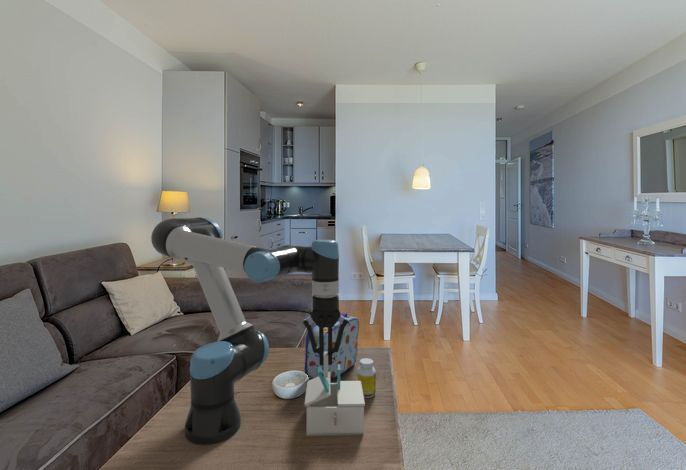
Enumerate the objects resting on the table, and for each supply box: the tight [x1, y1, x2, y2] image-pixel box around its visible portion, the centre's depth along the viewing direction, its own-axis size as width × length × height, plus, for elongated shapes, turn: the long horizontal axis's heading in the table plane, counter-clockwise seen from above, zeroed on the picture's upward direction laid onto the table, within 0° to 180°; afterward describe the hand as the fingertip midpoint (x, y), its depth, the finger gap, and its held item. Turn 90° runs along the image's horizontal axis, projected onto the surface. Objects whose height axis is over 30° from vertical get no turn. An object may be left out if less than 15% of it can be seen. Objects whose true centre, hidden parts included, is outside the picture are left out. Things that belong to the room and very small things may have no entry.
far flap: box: [336, 364, 366, 407], centre depth 104 cm, size 8×13×7 cm, turn 2°
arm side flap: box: [304, 367, 331, 408], centre depth 104 cm, size 8×13×7 cm, turn 1°
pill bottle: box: [356, 357, 377, 399], centre depth 120 cm, size 6×6×12 cm
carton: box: [306, 382, 365, 437], centre depth 104 cm, size 16×16×8 cm
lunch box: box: [304, 312, 360, 380], centre depth 136 cm, size 28×10×22 cm, turn 148°
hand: (325, 375), depth 101 cm, fingers closed
